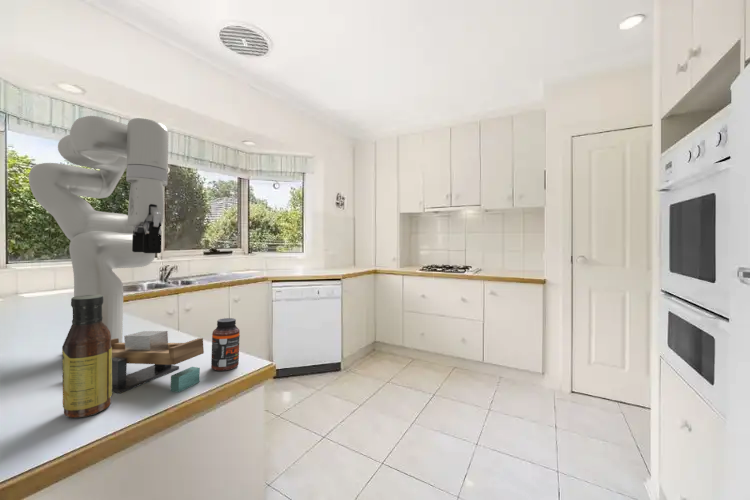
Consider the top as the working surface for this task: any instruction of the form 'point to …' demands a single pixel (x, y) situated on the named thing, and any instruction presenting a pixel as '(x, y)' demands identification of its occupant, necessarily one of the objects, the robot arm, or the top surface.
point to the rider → (147, 341)
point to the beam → (159, 353)
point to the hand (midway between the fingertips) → (146, 252)
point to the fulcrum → (151, 376)
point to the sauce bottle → (87, 360)
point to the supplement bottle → (225, 345)
